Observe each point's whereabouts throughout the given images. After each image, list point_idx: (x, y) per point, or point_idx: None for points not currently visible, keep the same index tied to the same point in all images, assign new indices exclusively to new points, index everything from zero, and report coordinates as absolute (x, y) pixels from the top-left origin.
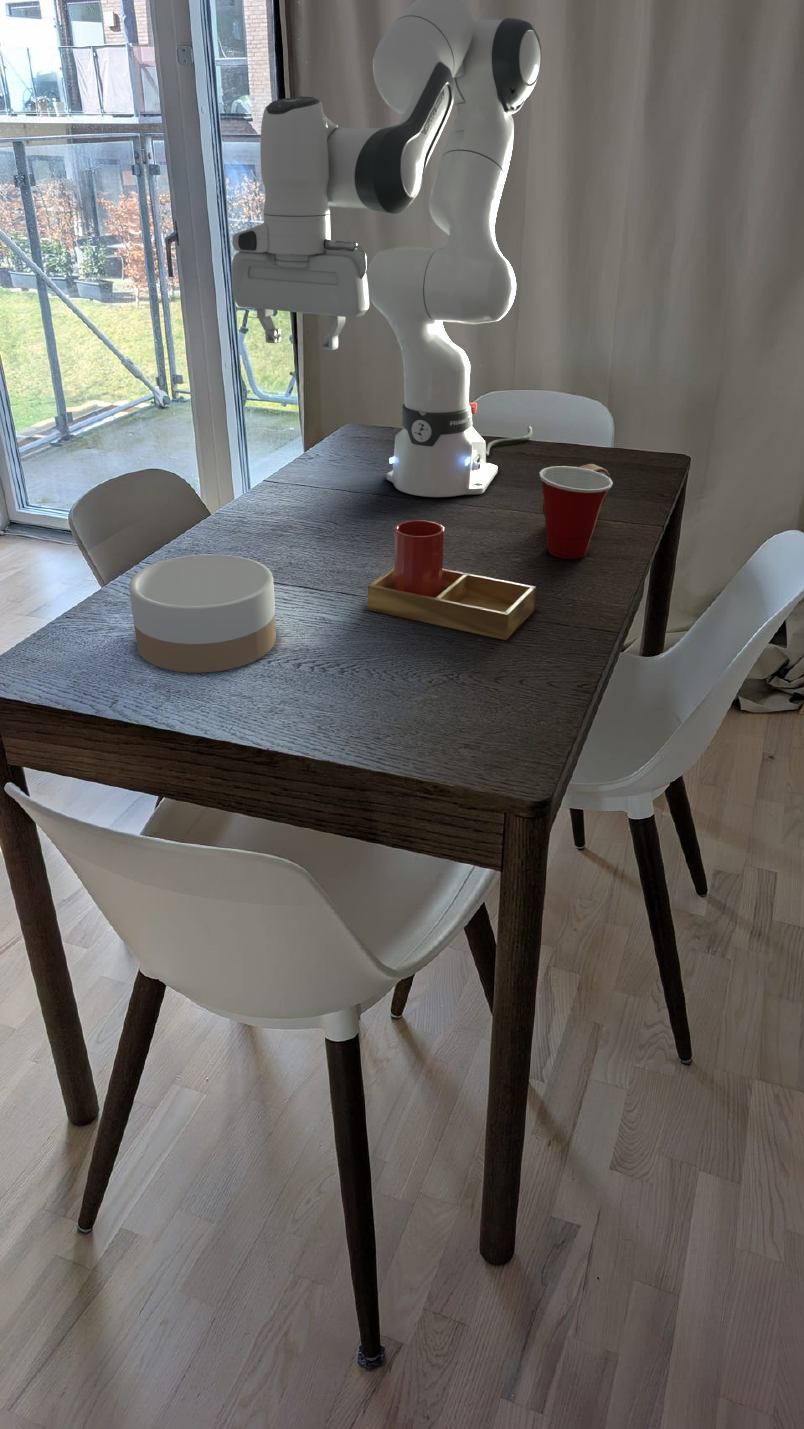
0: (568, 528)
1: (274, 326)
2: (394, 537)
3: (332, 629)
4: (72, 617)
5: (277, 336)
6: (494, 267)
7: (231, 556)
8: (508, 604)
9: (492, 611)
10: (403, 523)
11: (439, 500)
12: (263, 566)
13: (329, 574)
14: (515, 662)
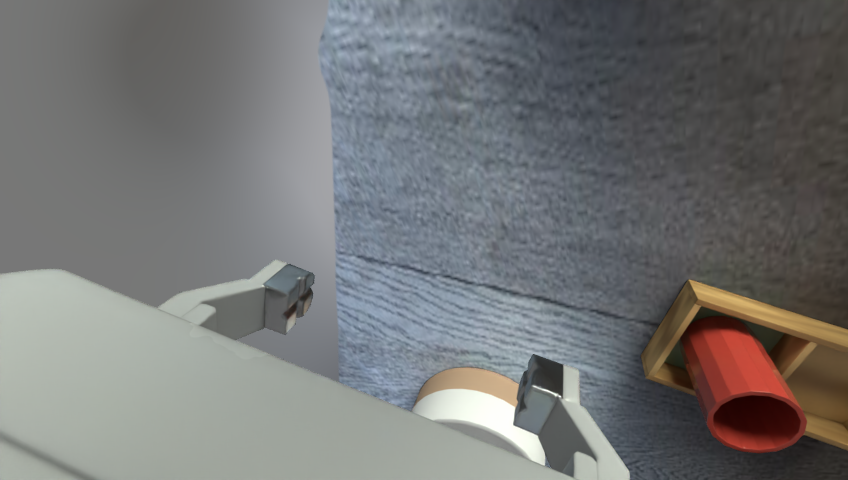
0: None
1: (255, 289)
2: (703, 414)
3: (601, 397)
4: (341, 374)
5: (298, 293)
6: None
7: (474, 426)
8: None
9: (839, 447)
10: (724, 402)
11: None
12: (521, 451)
13: (569, 257)
14: (842, 468)
